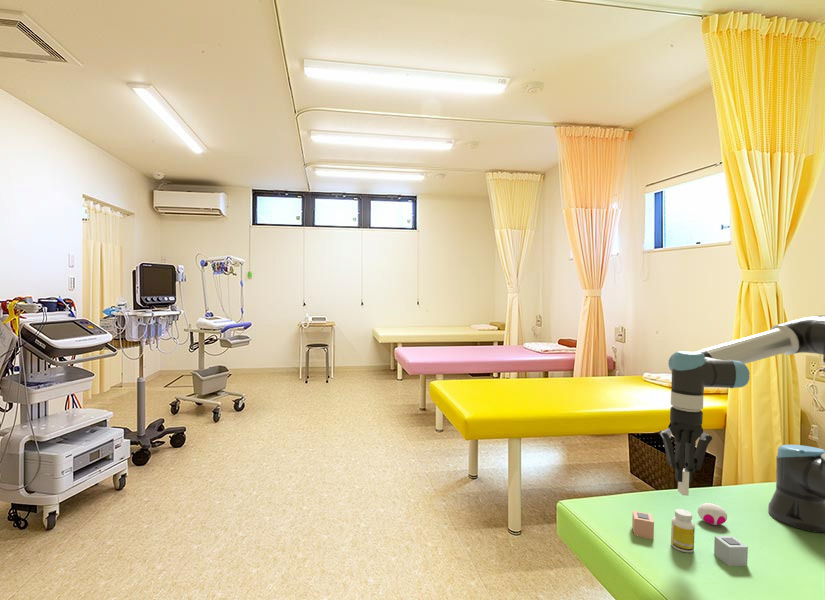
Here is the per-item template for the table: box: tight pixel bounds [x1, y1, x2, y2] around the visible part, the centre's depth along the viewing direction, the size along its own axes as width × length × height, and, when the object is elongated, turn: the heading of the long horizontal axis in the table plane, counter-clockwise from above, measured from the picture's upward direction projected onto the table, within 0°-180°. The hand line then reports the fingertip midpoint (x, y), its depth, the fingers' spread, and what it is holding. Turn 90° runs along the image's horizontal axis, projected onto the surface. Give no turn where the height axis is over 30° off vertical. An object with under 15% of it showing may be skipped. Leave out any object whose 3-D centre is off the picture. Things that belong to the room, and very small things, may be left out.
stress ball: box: [697, 502, 728, 529], centre depth 131 cm, size 8×8×7 cm
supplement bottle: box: [670, 508, 696, 553], centre depth 118 cm, size 5×5×10 cm
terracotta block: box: [631, 510, 655, 540], centre depth 125 cm, size 5×5×5 cm
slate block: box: [713, 535, 749, 567], centre depth 113 cm, size 5×5×5 cm
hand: (683, 493), depth 118 cm, fingers closed
